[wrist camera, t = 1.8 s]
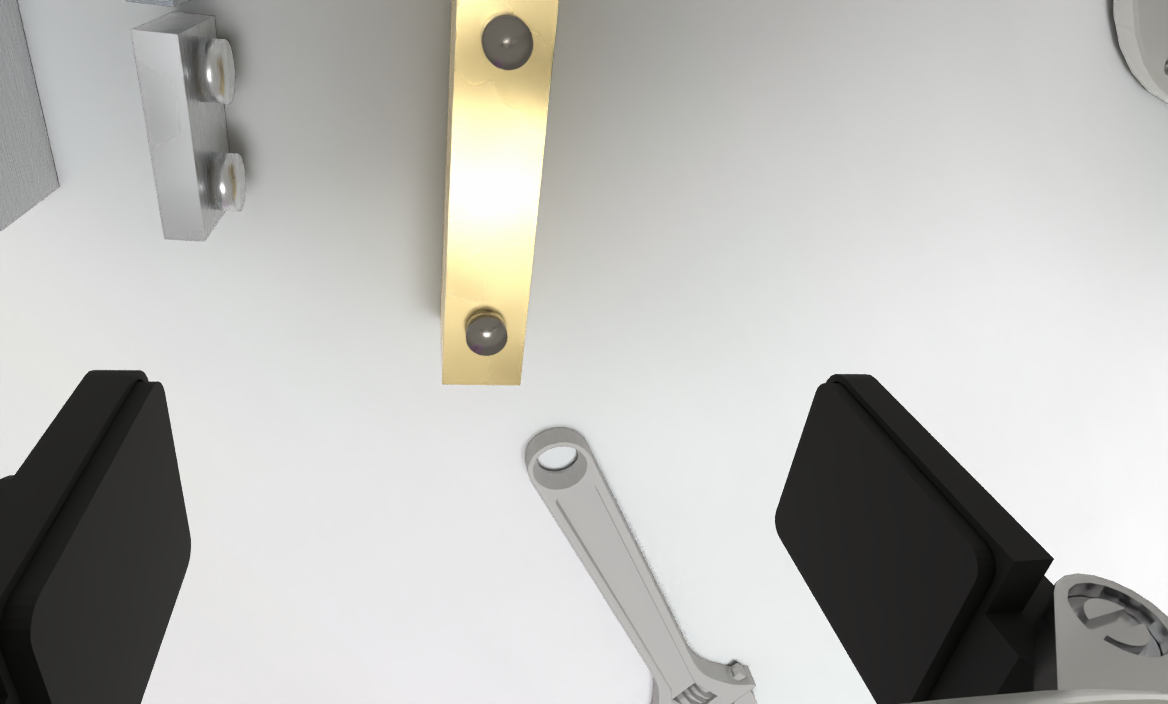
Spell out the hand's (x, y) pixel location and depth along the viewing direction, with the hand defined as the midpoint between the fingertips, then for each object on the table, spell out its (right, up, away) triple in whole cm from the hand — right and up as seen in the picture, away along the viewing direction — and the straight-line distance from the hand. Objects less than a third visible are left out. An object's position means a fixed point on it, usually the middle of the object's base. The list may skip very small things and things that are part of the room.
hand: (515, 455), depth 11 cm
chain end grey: (-12, +9, +10) cm, 18 cm away
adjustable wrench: (+5, -11, +26) cm, 29 cm away
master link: (-2, +8, +13) cm, 15 cm away
